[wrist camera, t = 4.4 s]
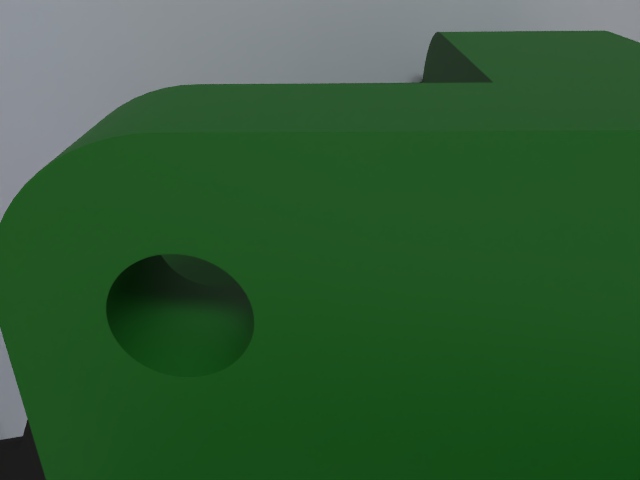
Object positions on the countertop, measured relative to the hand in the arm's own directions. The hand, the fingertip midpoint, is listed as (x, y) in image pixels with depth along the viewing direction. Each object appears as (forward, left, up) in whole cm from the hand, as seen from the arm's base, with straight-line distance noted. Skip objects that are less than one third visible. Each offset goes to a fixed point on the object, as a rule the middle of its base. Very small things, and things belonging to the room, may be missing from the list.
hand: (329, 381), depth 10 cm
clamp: (0, 0, -1) cm, 1 cm away
